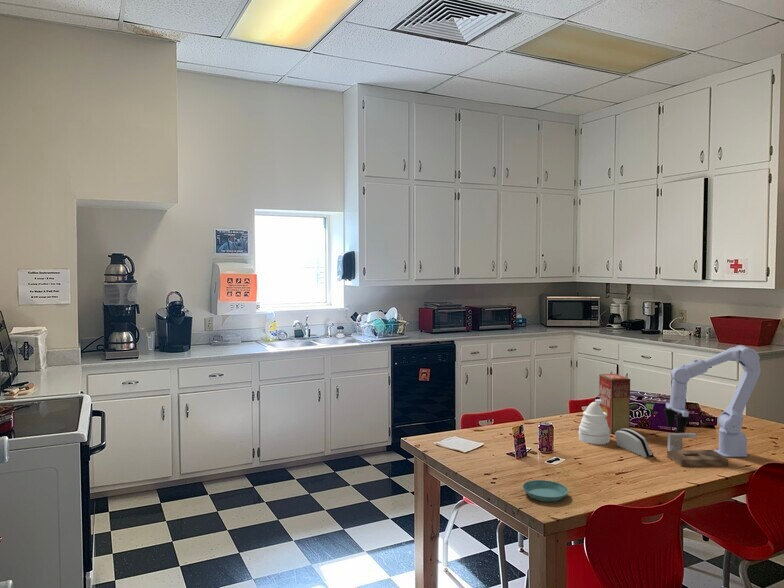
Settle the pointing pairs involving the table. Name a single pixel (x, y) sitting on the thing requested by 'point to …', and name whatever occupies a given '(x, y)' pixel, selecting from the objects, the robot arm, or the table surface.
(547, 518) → the table surface
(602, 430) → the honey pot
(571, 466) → the table surface
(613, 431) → the food packaging
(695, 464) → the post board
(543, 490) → the saucer
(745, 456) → the robot arm
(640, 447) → the napkin holder
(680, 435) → the bracket
